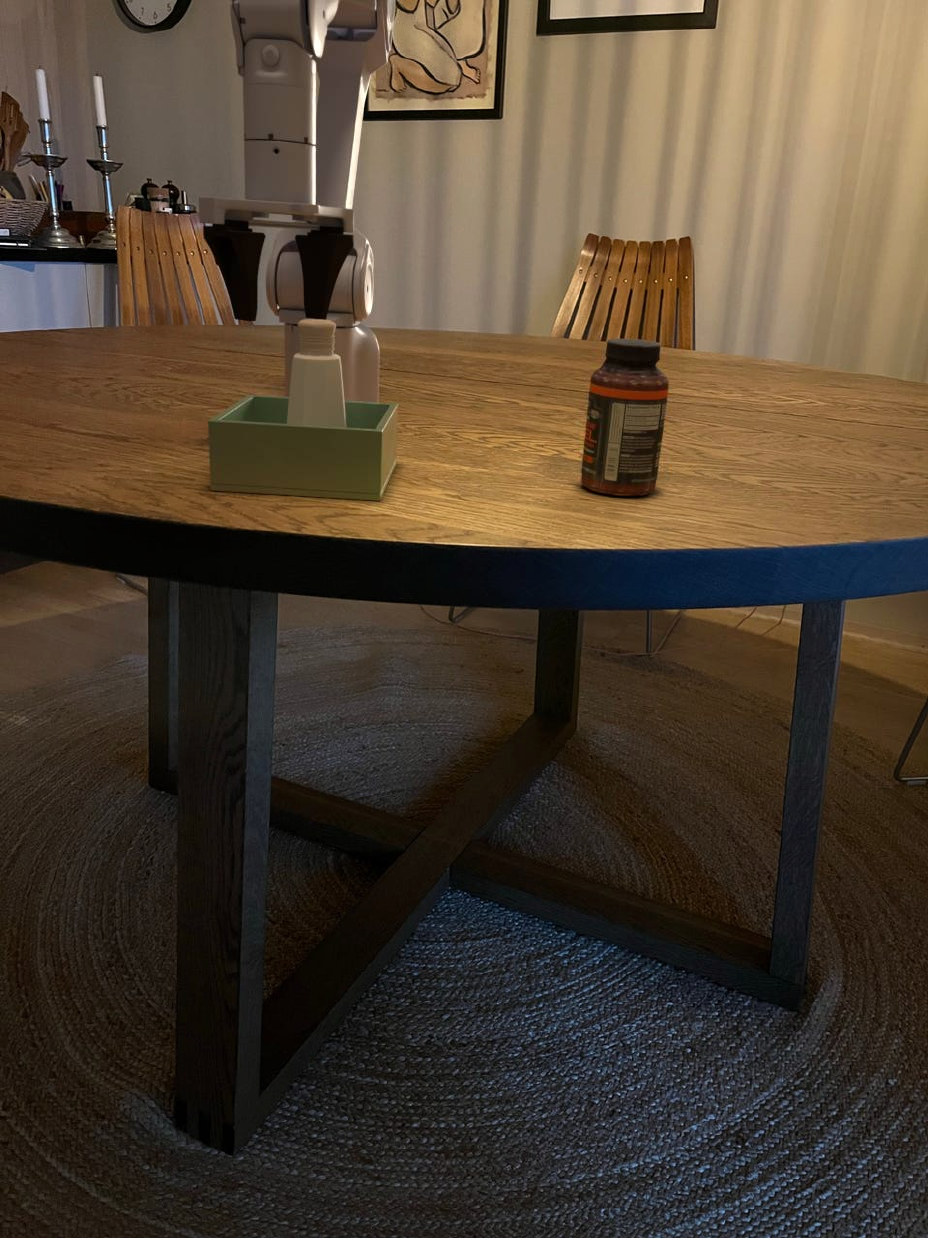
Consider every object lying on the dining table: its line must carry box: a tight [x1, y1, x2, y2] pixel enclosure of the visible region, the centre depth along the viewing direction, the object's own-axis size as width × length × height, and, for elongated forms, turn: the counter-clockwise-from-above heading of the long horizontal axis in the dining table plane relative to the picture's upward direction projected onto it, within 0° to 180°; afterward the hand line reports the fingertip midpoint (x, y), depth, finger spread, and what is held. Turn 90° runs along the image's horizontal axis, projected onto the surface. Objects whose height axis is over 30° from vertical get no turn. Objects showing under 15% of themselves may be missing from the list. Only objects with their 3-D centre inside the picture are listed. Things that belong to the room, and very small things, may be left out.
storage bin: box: [207, 394, 399, 502], centre depth 76 cm, size 12×12×5 cm
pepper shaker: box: [287, 319, 347, 428], centre depth 76 cm, size 5×5×11 cm
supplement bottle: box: [580, 338, 670, 497], centre depth 77 cm, size 6×6×11 cm
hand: (281, 319), depth 85 cm, fingers open, 7 cm apart
